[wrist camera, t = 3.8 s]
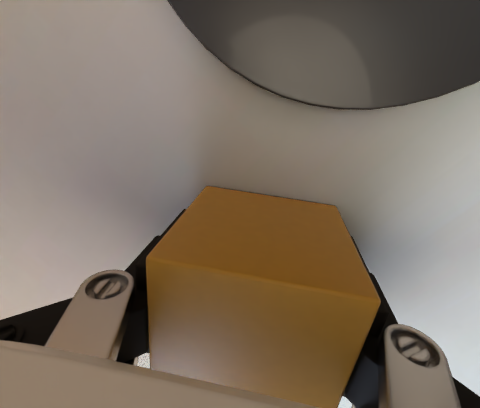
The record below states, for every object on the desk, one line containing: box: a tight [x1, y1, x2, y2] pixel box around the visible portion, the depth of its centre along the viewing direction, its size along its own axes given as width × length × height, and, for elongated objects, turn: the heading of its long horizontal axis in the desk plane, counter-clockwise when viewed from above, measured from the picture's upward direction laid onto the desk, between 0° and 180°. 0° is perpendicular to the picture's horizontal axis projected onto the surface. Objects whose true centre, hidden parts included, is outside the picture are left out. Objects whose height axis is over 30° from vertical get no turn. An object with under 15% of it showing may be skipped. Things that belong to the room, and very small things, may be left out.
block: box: [146, 186, 381, 408], centre depth 9 cm, size 5×5×5 cm
